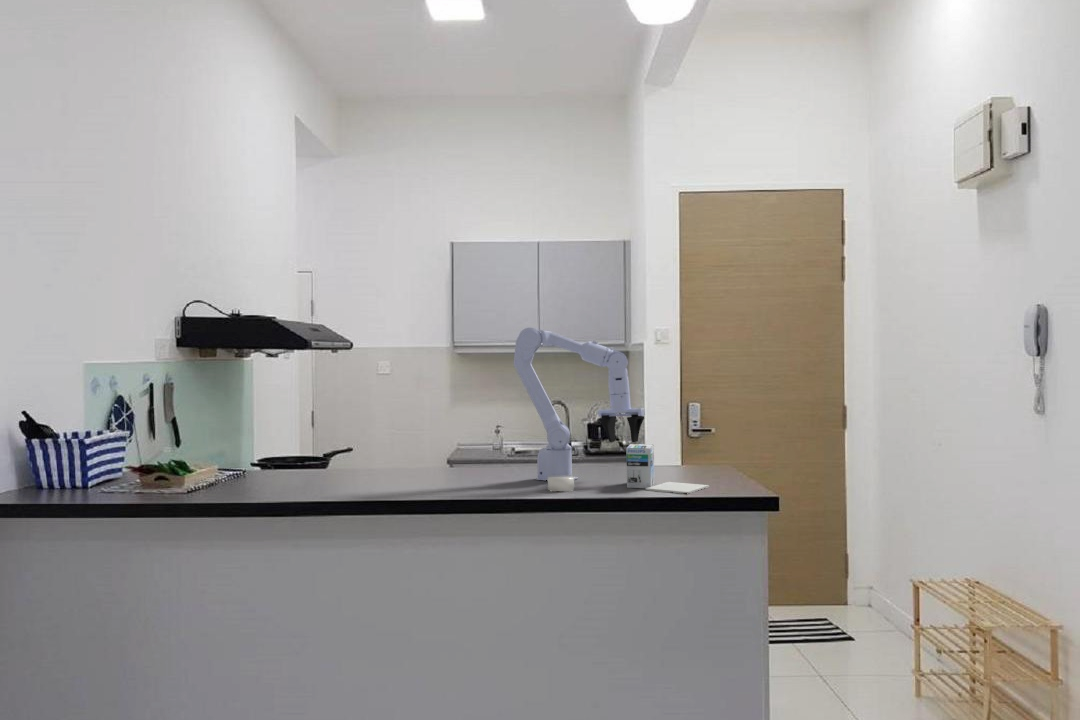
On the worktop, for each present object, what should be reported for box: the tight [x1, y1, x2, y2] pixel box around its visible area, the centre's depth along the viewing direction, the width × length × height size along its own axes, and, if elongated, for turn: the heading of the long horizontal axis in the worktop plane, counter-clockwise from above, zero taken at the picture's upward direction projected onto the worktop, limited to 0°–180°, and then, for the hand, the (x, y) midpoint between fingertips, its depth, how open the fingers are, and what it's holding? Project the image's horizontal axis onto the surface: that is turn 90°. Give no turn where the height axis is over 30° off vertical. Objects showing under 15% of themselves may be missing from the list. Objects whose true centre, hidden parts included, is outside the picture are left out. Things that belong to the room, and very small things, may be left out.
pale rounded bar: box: [547, 475, 575, 492], centre depth 232 cm, size 7×7×4 cm
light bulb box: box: [625, 443, 655, 489], centre depth 238 cm, size 11×7×11 cm, turn 168°
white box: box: [645, 481, 710, 495], centre depth 231 cm, size 12×13×1 cm
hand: (623, 441), depth 248 cm, fingers open, 7 cm apart
